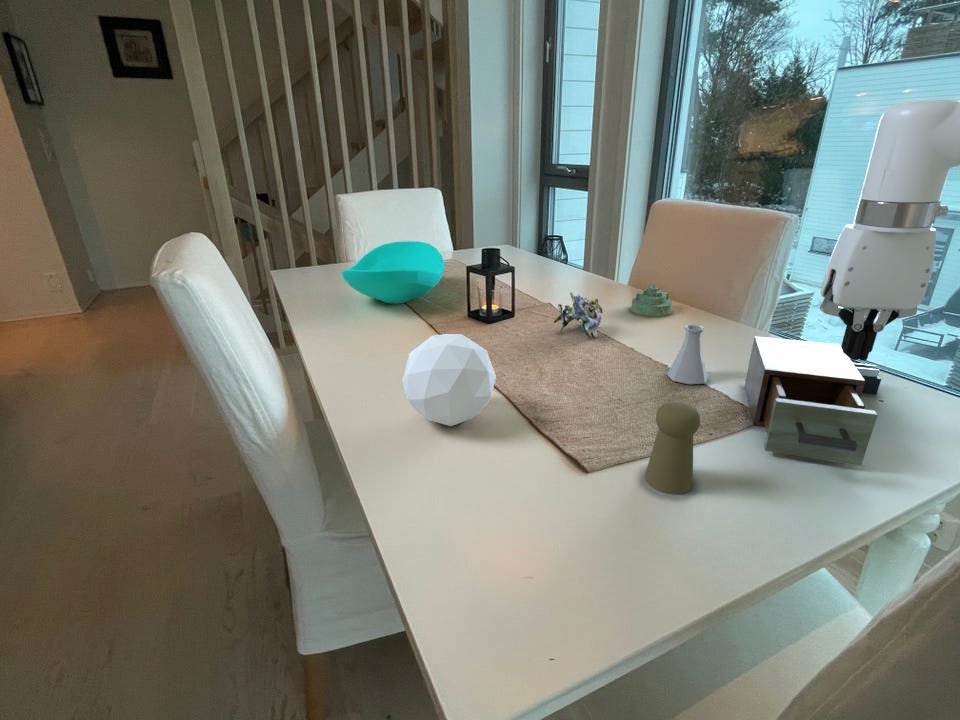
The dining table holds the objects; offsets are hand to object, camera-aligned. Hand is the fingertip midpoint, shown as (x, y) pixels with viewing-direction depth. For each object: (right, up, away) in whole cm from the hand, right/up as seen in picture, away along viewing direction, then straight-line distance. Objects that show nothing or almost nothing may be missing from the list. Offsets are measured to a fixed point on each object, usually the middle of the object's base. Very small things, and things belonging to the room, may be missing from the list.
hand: (854, 356), depth 69 cm
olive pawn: (-25, -17, -1) cm, 30 cm away
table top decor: (-74, +17, +79) cm, 109 cm away
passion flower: (-28, +5, +50) cm, 57 cm away
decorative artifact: (-6, +12, +65) cm, 66 cm away
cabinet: (+1, -9, +15) cm, 18 cm away
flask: (-11, -4, +27) cm, 30 cm away
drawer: (-3, -12, +5) cm, 14 cm away
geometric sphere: (-55, -10, +16) cm, 58 cm away
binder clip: (+16, -6, +21) cm, 27 cm away
